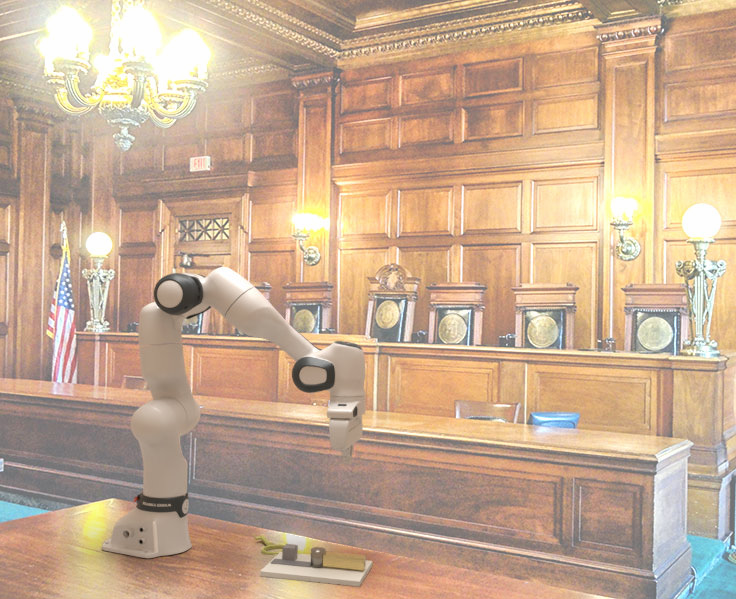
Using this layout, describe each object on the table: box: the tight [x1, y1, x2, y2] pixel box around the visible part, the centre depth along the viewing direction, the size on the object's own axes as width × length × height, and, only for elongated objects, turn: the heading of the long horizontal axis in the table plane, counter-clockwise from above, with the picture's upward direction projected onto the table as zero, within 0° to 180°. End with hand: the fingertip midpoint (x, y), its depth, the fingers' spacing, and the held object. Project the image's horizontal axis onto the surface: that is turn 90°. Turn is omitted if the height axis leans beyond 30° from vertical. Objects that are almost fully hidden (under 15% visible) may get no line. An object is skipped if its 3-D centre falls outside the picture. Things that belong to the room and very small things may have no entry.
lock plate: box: [259, 543, 374, 588], centre depth 193 cm, size 24×15×4 cm, turn 78°
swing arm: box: [310, 546, 367, 570], centre depth 192 cm, size 13×4×4 cm, turn 78°
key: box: [253, 534, 285, 556], centre depth 209 cm, size 7×12×2 cm, turn 48°
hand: (347, 462), depth 198 cm, fingers closed
